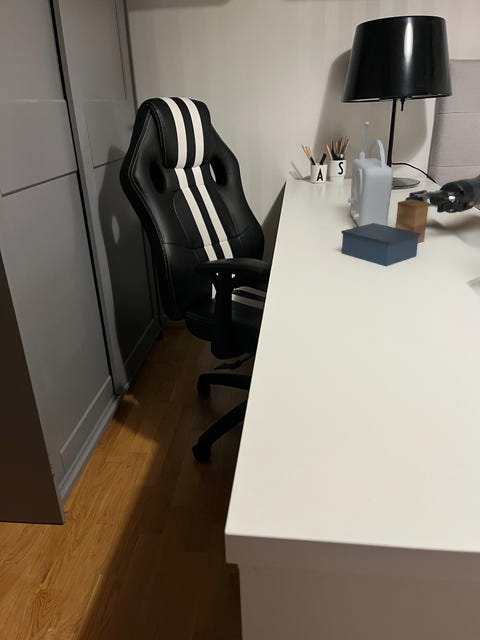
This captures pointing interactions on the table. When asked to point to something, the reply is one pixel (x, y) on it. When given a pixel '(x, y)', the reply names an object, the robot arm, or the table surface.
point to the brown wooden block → (412, 216)
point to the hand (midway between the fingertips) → (422, 205)
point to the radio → (370, 187)
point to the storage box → (380, 243)
